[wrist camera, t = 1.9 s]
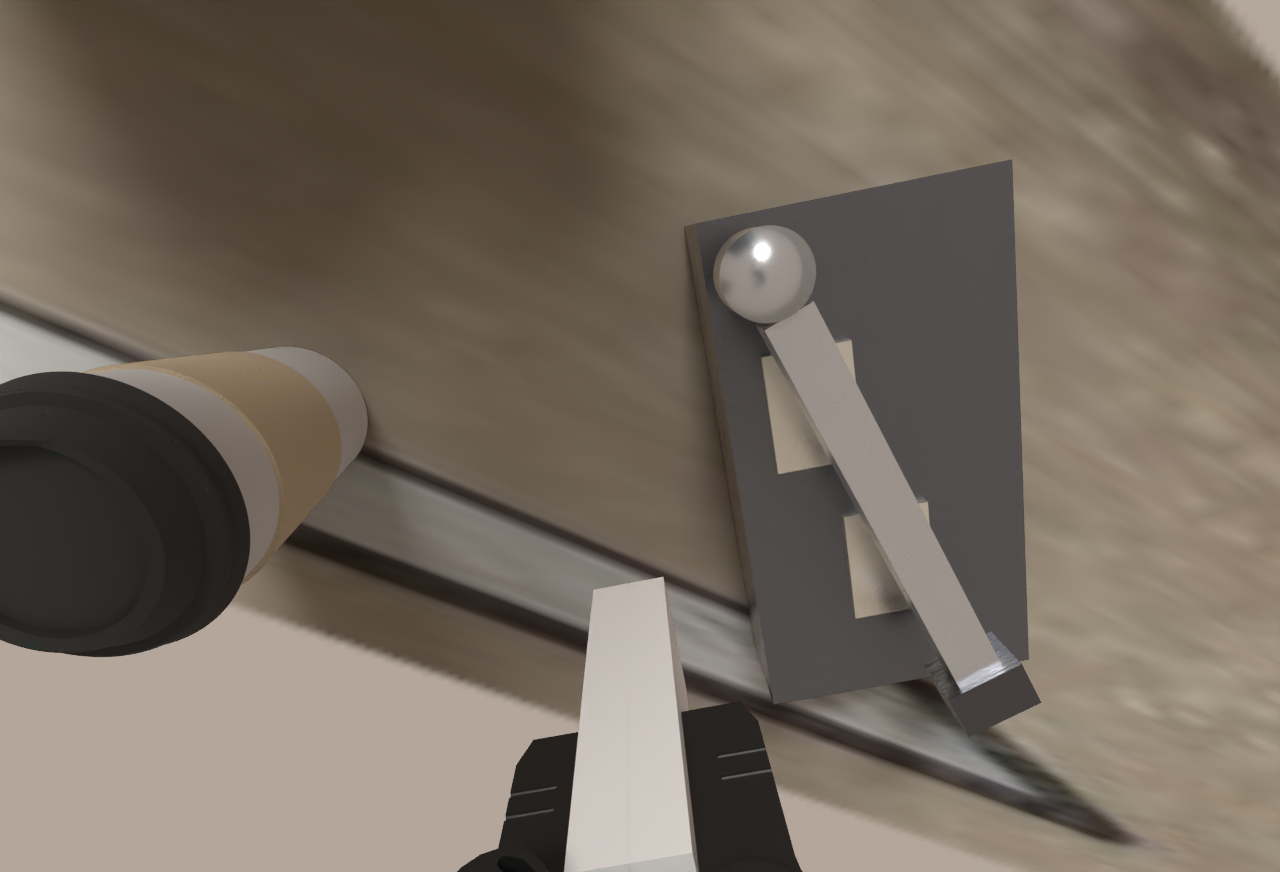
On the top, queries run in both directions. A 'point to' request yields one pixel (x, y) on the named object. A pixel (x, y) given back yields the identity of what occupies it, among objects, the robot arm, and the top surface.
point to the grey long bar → (869, 471)
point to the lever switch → (905, 412)
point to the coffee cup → (159, 490)
